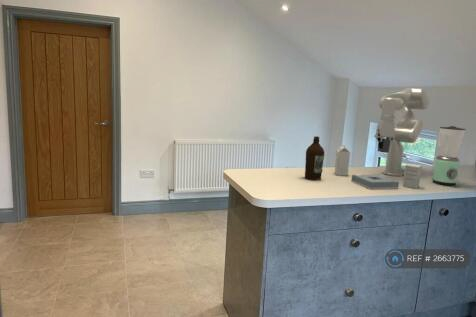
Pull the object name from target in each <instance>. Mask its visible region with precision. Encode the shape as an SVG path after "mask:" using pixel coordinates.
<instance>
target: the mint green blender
mask: <svg viewBox="0 0 476 317" xmlns="http://www.w3.org/2000/svg"><path fill="white" fill-rule="evenodd" d="M465 133H466V128H461V127H457V126H452V125H451V126H450V125H449V126H439V134H438V138H437V145H438V147H439V155H438V156H437V155H436V156H437V157H436V158H435V160H434V165H433V171H432V178H431V179H432V180H431V181H433V182H432V183H436V184H439V185H440V186H444V185H447V186H448V185H449V186H450V185H451V186H452V185H456V186H457V182H458V176H459V170H460V164H461V161H460V159H459V157H458V154H459V150H460V148H461V145H462V142H463V139H464V138H465Z"/></svg>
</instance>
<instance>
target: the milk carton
mask: <svg viewBox="0 0 476 317" xmlns="http://www.w3.org/2000/svg"><path fill="white" fill-rule="evenodd" d="M350 156H351V152H350V151H349V150H348V148H346V145H345V144H342V146H339V147H337V150H336V155H335V164H334V172H333V173H334V174H335V176H343V177H344V176H345V177H348V175H349V167H350V158H351V157H350Z"/></svg>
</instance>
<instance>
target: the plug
mask: <svg viewBox="0 0 476 317" xmlns="http://www.w3.org/2000/svg"><path fill="white" fill-rule="evenodd" d="M382 142H383V144H382V149H380V148H378V147H377V152H381V153H387V152H389V146H390V139H387V138H386V137H383V140H382Z"/></svg>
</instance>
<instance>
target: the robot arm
mask: <svg viewBox="0 0 476 317" xmlns="http://www.w3.org/2000/svg"><path fill="white" fill-rule="evenodd" d="M378 106H379V108H380V109H381V111H380V112H381V113H380V120H379V119H378V122H377V126H376V131H375V134H374V138H376V140H377V143H378V144H377V149H378V148H380V149H382V144H383V142H382V140H383V138H387V139H390V146H389V152H386V162H385V170H382V174H383V173H384V175H386V174H387V176H392V177H402V176H404V174H403V172H404V173H405V168H402V164H403V157H404V146H403V144H402V143H408V144H413V143H415V142H416V141H417V140H418V138H419V136H420V134H421V132H422V131H423V127H424V124H423V123H424V122H423V120H422V119H421V118H419V117H416V115H415V113H414V111H412V110H421V111H422V110H423V111H424V110H427V109H428V107H429V106H430V99H429V96H428V94H427V92H426V91H425V89H424V88H421V87H406V88H404V89H402V90H401V91H399V92H394V93H390V94H386V95H384V96H382V97H381V98H380V100H379V102H378ZM396 111H401V115H400V117H399V118H398V120H397V122H395V119H396V116H395V112H396ZM395 123H396V124H395Z"/></svg>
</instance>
